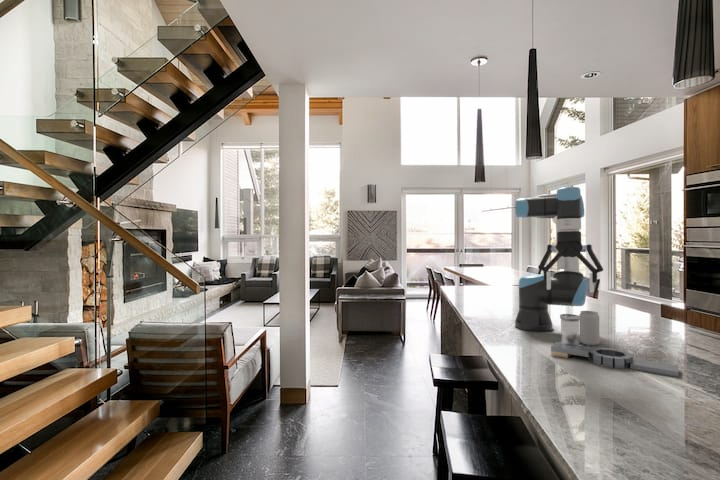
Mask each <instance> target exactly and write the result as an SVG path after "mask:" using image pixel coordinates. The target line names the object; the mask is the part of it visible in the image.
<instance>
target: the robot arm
mask: <svg viewBox="0 0 720 480" xmlns="http://www.w3.org/2000/svg"><path fill="white" fill-rule="evenodd" d="M584 206H585V205H584V201H583V197H582V195H581V188H579V187H578V186H565V187H560V188H558V189H557V190H556V193H545V194H539V195H536V196H535V195H534V196H531V197H527V198H526V197H523V198H517V199H516V200H515V203H514V210H515V211H514V212H515V216H516V217H517V218H523V219H524V218H538V219H551V220H552V223H554V224H555V234H556V238H555V240H556V241H555V242H556V244H555V245H554V244H548V245H547V246H546V251H545V253H544V255H543V258H542V259H541V261H540V263H539V264H538V267H537V268H538V270H541V271H542V272H543V274H541V273H540V274H530V275H524V276H521V277H520V278H519V280H518V287H517V288H518V311H517V315H516V318H515V321H514V327H516V329H517V328H518V329H520V330H525V331H530V332H531V331H533V332H547V331H548V332H549V331H552V330H553V329H554V327H553V321H552V318H551V315H550V313H549V309H548V308H549V307H548V306H549V305H550V306H563V307H564V306H566V307H583V306H584V305H585V304H586V299H587V291H588V279H586V278H584V274H583V273H582V272H581V271H580V261H581V262H582V263H583V264H584V265H585V267H587V269H588V270H589V272H590V273H589V294H590V293H594V292H595V288H594V287H595V286H594V285H595V284H596V283H598V273H601V272H603V271H604V268H603V266H602V264H601V263H600V261H599V259H598V258H597V256H596V254H595V253H594V251H593V250H594V249H593V245H592V244H586V245H585V244H584V245H583V243H582V232H581V231H580V230H582V218H584V217H585V207H584ZM555 249H556V254H555V256H554V257H553V258H552V259H551V261H549V262H548V264H547V261H548V260H549V258H550V256H551V254H552V253H553V251H554V250H555ZM582 250H584V251H585V252H587V253H588V256H589V257H590V259H591V260H592V262H593V264H594V266H593V265H592V263H591V262H590V261H589V260H588V259H586V257H585V256H584V255H583V254H582ZM555 263H556V271H555V272H553V274H552V275H551V273H552V271H550V270H551V268H552V267H553V266H554V265H555ZM545 265H546V266H545ZM594 283H595V284H594Z"/></svg>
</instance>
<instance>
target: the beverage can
mask: <svg viewBox="0 0 720 480" xmlns="http://www.w3.org/2000/svg"><path fill="white" fill-rule="evenodd" d="M578 316H580V320H579V343H581V344H582V343H583V344H582V345H584V344H586V345H585V346H589V345H596V346H598V345H599V344H600V338H601V337H600V315H599V312H598V311H593V310H581V311H580V313H579V315H578Z"/></svg>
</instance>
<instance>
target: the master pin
mask: <svg viewBox="0 0 720 480" xmlns="http://www.w3.org/2000/svg"><path fill="white" fill-rule="evenodd" d="M559 319H560V332H561V334H560V335H561V337H560V338H561V340H560V343H566V344H572V345H579V346H580V326H579V320H580V316H579V315H577V314H571V313H563V314H560V315H559Z"/></svg>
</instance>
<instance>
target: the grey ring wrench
mask: <svg viewBox="0 0 720 480" xmlns="http://www.w3.org/2000/svg"><path fill="white" fill-rule="evenodd" d="M571 355H574V356H580V357H586V358H588V361H589V360H590V361H592V362H593V363H592V362H591V363H592V364H594V363H596V364H595V365H597V364H599V365H598V366H600V365H603V366H606V367H605V368H609V367H612V368H611V369H617V368H624V369H625V368H627V369H630V370H633V369H635V370H634V371H639V370H641V371H640V372H645V371H646V372H647V373H650V374H651V373H652V374H655V375H656V374H658V375H662V376H668V377H675V378H679V365H678V364H673V363H672V364H671V363H665V362H659V361H651V360H646V359H639V358H634V354H632V353H631V352H628V351H625V350H622V349H616V348H612V347H611V348H610V347H608V348H607V347H593V346H587V345H584V346H583V345H580V344H579V345H572V344H566V343H561V342H560V341H559V342H558V341H556V342H554V344H552V345H551V346H550V356H553V357H558V358H565V359H568V358H570V356H571ZM590 361H589V362H590ZM603 366H602V367H603ZM630 367H631V368H630Z"/></svg>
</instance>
